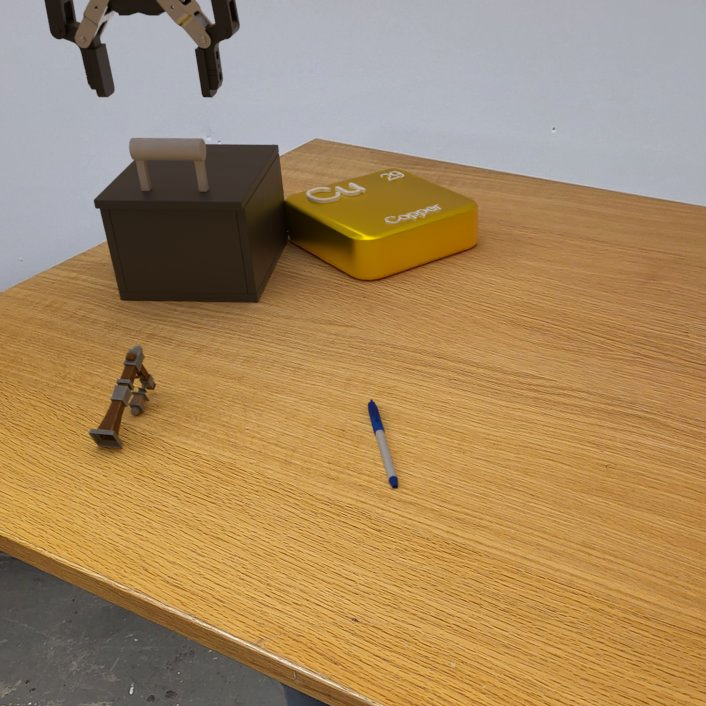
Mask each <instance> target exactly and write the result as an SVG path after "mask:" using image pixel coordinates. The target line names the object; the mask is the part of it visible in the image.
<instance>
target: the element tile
mask: <svg viewBox="0 0 706 706" xmlns="http://www.w3.org/2000/svg"><path fill="white" fill-rule="evenodd" d="M284 200H285V209H286V218H287V227H288V235H289V241H291V243H293V244H294V245H296V246H298V247H300V248H302V249H304V250H305V251H307V252H308V253H311V254H312V255H313V256H316V257H317V258H319V259H321V260H323V261H324V262H326V263H328V264H330V265H331V266H333V267H334V268H336V269H337V270H340V271H342V272H343V273H345V274H347V275H348V276H350V277H352V278H355V279H356V280H361V281H376V280H379V279H383V278H386V277H387V278H388V277H390V276H393V275H395V274H399V273H403V272H405V271H408V270H410V269H414V268H417V267H420V266H422V265H425V264H428V263H431V262H434V261H437V260H440V259H443V258H446V257H449V256H453V255H455V254H457V253H461V252H464V251H466V250H469V249H471V248H473V247H474V246H476V245H477V244H478V239H479V203H478V202H477V201H476V200H474V199H473V198H470V197H468V196H467V195H464V194H462V193H460V192H457V191H454V190H452V189H450V188H447V187H445V186H442V185H440V184H438V183H435V182H433V181H430V180H428V179H426V178H423V177H421V176H418V175H417V174H413V173H412V172H410V171H407V170H403V169H400V168H396V167H394V168H387V169H383V170H379V171H376V172H372V173H369V174H364V175H360V176H357V177H353V178H349V179H346V180H345V179H344V180H342V181H338V182H335V183H334V182H333V183H331V184H330V183H329V184H326V185H323V186H319V187H313V188H310V189H308V190H304V191H301V192H297V193H293V194H289V195H287V196H286V198H285V199H284Z"/></svg>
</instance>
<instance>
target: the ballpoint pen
mask: <svg viewBox="0 0 706 706" xmlns="http://www.w3.org/2000/svg"><path fill="white" fill-rule="evenodd" d="M367 411H368V415H369V419H370V422H371V426H372V429H373V433H374V436H375V437H376V438H375V439H376V441H377V445H378V448H379V452H380V455H381V459H382V463H383V465H384V466H383V467H384V470H385V473H386V476H387V480H388V483H389V485H390V486H391V488H392V489H393V490H395V489H398V488H399V479H398V474H397V471H396V468H395V465H394V461H393V458H392V454H391V452H390V447H389V444H388V440H387V437H386V434H385V433H386V431H385V429H384V424H383V421H382V418H381V414H380V411H379V408H378V406H377V404H376V402H375V401H374V400H373V399H369V401H368V403H367Z"/></svg>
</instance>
